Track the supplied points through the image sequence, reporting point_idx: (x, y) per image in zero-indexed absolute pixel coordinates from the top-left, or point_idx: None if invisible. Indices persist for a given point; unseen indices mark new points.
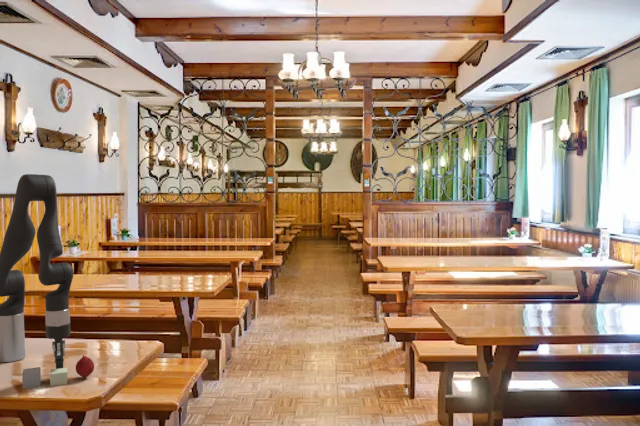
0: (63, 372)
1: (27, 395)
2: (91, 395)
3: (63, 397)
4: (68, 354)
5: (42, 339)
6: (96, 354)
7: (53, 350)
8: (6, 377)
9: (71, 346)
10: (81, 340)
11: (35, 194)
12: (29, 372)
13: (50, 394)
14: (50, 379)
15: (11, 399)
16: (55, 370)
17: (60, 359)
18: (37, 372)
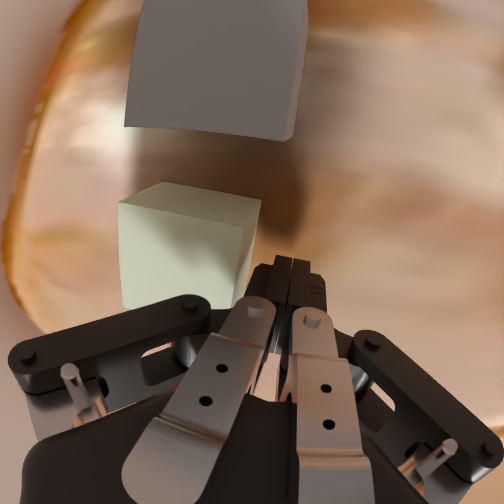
0: (122, 289)
1: (82, 67)
2: (27, 297)
3: (22, 218)
4: None
5: None
6: (485, 421)
7: (172, 400)
8: (492, 4)
9: None
10: None
11: None
12: (146, 38)
13: (53, 173)
14: (139, 193)
15: (77, 9)
16: (192, 256)
17: (171, 352)
18: (129, 107)
